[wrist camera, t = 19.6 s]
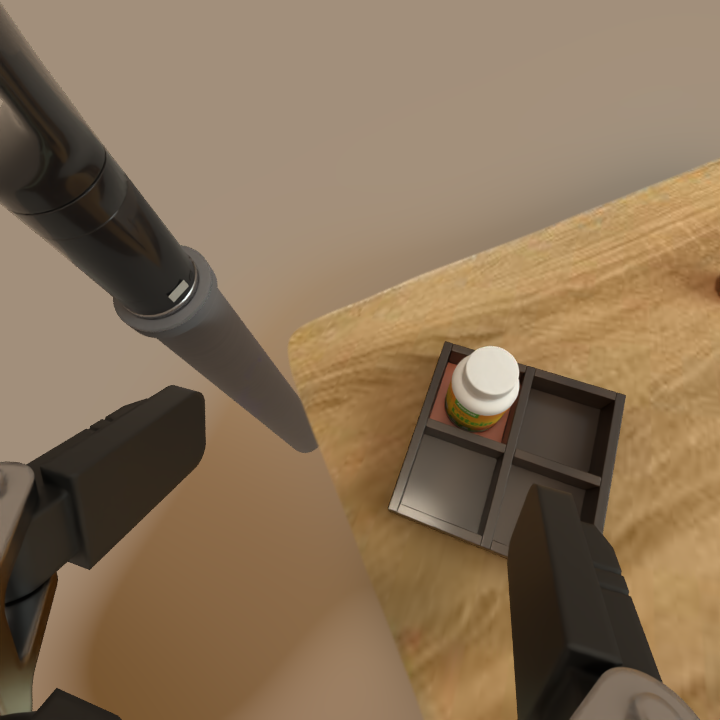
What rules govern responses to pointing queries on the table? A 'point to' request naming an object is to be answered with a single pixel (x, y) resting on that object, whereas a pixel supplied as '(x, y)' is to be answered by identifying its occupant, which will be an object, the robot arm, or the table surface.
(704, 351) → the table surface
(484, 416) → the supplement bottle
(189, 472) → the robot arm
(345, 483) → the table surface
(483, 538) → the grid
